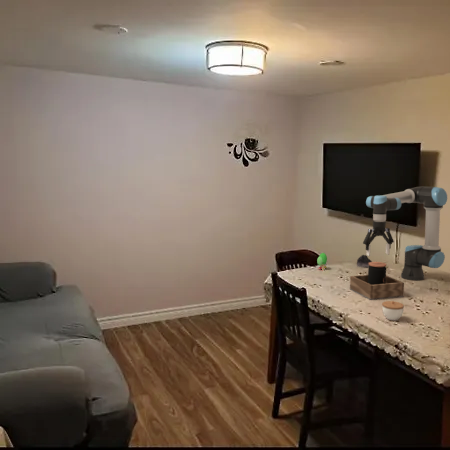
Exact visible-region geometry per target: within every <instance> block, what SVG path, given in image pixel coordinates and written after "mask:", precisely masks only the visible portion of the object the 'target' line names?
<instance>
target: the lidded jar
mask: <svg viewBox="0 0 450 450" xmlns="http://www.w3.org/2000/svg"><path fill="white" fill-rule="evenodd" d="M381 305H382V306H381V307H382V308H381V309H382V314H383V316H384V317H386V318H385V319H387V320H390V321H399V320H400V318H401V317H402V316H403V313H404V307H405V306H404V304H403V303H401V302H398V301H394V300H387V301H383V302H382V304H381Z"/></svg>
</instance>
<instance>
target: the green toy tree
mask: <svg viewBox="0 0 450 450" xmlns="http://www.w3.org/2000/svg"><path fill="white" fill-rule="evenodd" d="M316 261H317V262H316V263H317V266H316V267H319V268H317V270H319V269H320V270H319V271H322V270H325V269H324V268H327V261H328V257H327V255H326V253H325V252H321V253H320V254H319V256H318V258H317V260H316ZM321 269H322V270H321Z"/></svg>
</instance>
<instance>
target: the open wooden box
mask: <svg viewBox="0 0 450 450" xmlns="http://www.w3.org/2000/svg"><path fill="white" fill-rule="evenodd" d="M349 290H350V291H352V292H354V293H355V294H358V295H360V296H361V297H364V298H365V299H367V300H369V301H375V300H382V299H383V300H385V299H394V298H403V297H404V293H405V282H403V281H401V280H398V279H397V278H396V279H395V278H393V277H391V276H388V275H386V284H376V285H371V284H369V283H368V274H361V275H359V274H358V275H351V276H350V281H349Z"/></svg>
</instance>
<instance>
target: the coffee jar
mask: <svg viewBox="0 0 450 450" xmlns="http://www.w3.org/2000/svg"><path fill="white" fill-rule="evenodd" d="M367 268H368V269H367V275H368V283H369V284H371V285H376V284H386V276H387V263H385V262H382V261H381V262H380V261H372V262H370V263H369V267H367Z"/></svg>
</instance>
